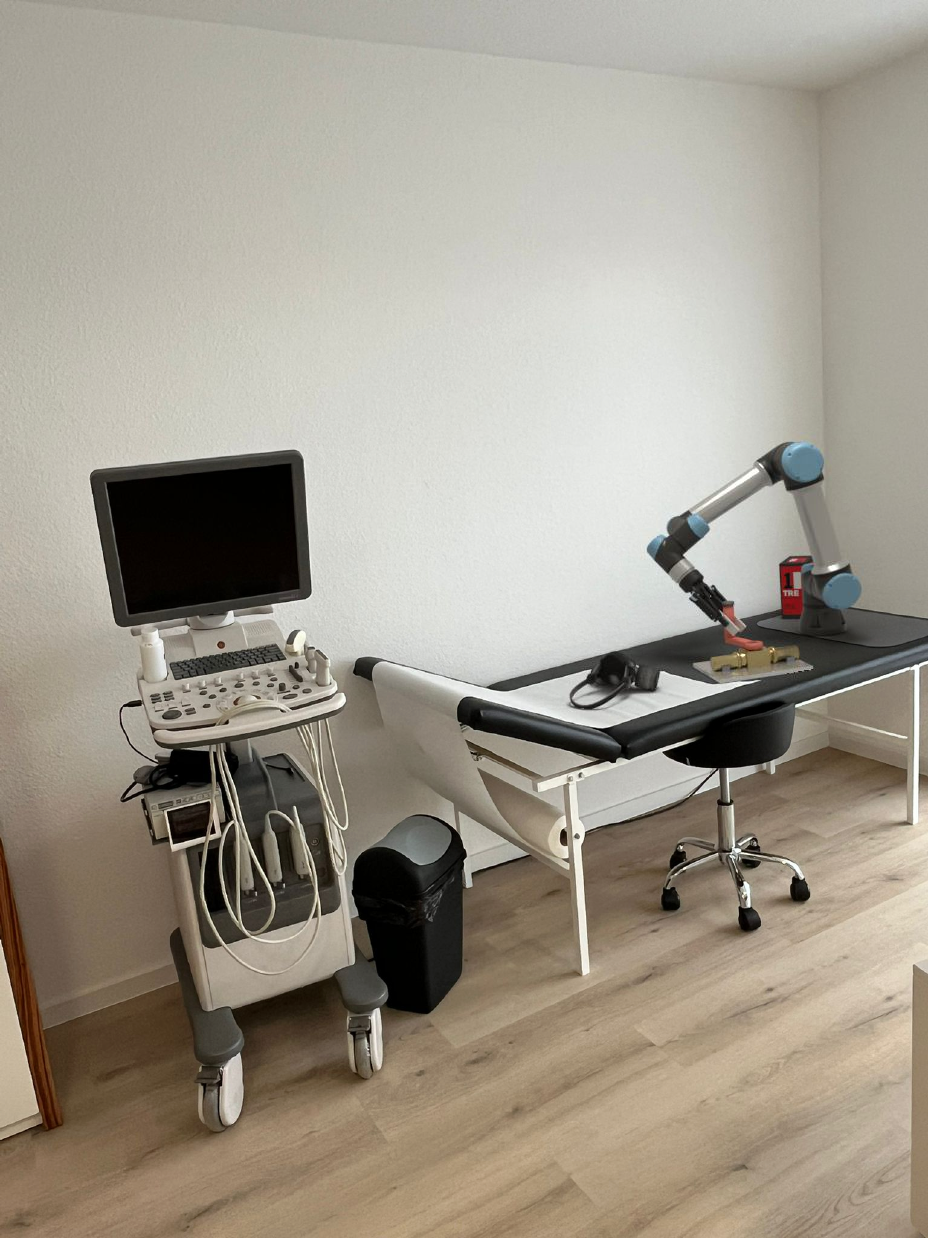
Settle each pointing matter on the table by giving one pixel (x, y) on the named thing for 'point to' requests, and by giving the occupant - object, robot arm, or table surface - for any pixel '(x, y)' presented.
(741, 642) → the lever
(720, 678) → the valve
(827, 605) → the robot arm
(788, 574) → the cleaning product box
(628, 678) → the respirator mask
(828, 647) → the table surface
